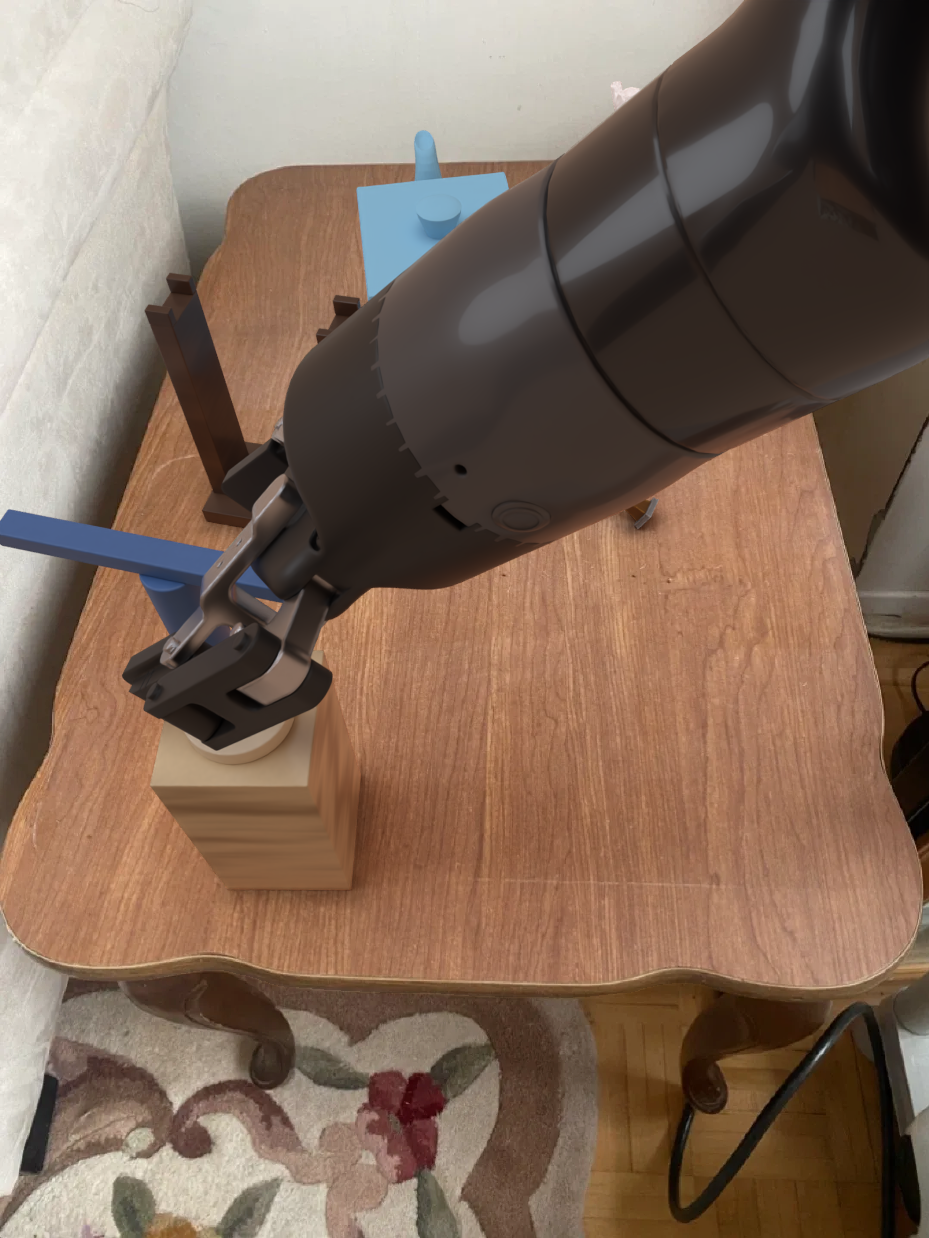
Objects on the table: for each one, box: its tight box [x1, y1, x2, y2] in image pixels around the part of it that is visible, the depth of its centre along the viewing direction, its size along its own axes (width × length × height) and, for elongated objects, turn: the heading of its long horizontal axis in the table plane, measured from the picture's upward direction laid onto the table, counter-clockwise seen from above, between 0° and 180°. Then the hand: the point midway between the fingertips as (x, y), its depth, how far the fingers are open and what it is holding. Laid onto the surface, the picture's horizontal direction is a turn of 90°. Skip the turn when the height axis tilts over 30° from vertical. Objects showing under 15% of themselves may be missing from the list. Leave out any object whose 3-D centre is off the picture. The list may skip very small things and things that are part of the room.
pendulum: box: [0, 508, 294, 765], centre depth 38 cm, size 5×13×12 cm, turn 75°
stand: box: [144, 272, 362, 529], centre depth 62 cm, size 7×12×17 cm, turn 76°
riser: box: [149, 649, 362, 891], centre depth 49 cm, size 7×7×14 cm
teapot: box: [356, 129, 510, 302], centre depth 72 cm, size 22×11×14 cm, turn 7°
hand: (199, 585), depth 35 cm, fingers open, 8 cm apart
